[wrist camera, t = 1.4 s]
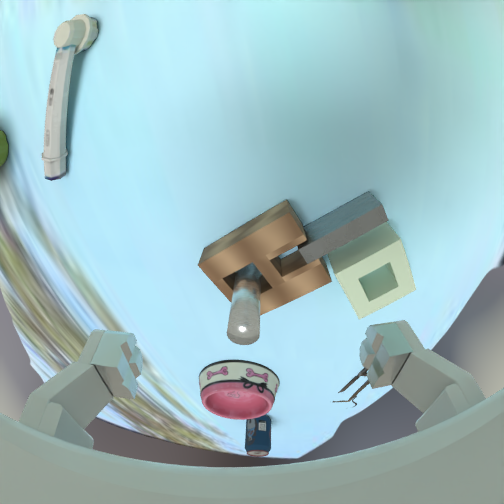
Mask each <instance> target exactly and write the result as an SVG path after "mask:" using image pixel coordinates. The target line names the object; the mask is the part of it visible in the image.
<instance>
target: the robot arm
mask: <svg viewBox="0 0 504 504" xmlns="http://www.w3.org/2000/svg"><path fill="white" fill-rule="evenodd" d="M365 334H366V336H367V338H366V339H365V340H364V341H362V343H361V346H360V360H361V363H362V365H363V366H364V367H365V368H367V369H368V372H367V377H368V380H369V382H370V384H371V387H372V389H373V388H379V387H383V386H388V385H392V387H394V388H395V389H396V390H397V391H398V392H399V393H400V394H402V395H403V396H404V397H405V398H406V399H408V400H409V401H410V402H411V403H412V404H413V405H414V406H416V407H417V408H418V409H419V410H420V411H422V412H423V413H424V414H423V415H422V416H421V417H420V418H419V419H418V420H417V422H416V423H415V425H416V428H417V430H418V432H417V433H414V434H412V435H409V436H406V437H404V438H401V439H398V440H395V441H392V442H389V443H386V444H383V445H379V446H376V447H372V448H369V449H365V450H361V451H358V452H354V453H349V454H345V455H341V456H336V457H331V458H325V459H320V460H314V461H308V462H301V463H293V464H285V465H276V466H275V465H274V466H261V467H238V468H237V467H236V468H235V467H232V468H225V467H224V468H221V467H195V466H182V465H172V464H163V463H155V462H149V461H142V460H137V459H131V458H126V457H121V456H117V455H112V454H108V453H104V452H100V451H96V450H93V449H92V448H93V443H94V440H93V438H92V437H91V436H90V435H89V434H88V433H87V432H86V431H85V430H84V428H85V427H86V426H87V425H88V424H89V423H90V422H91V421H92V420H93V419H94V418H95V417H96V416H97V415H98V414H99V412H100V411H101V410H102V409H103V408H104V407H105V406H106V405H107V404H108V403H109V402H110V401H111V400H112V399H113V397H120V398H129V399H135V395H136V391H137V387H138V383H137V381H136V378H137V377H138V376H139V375H140V374H141V371H142V362H143V360H142V354H141V351H140V349H139V348H138V347H136V346H135V344H136V341H137V340H136V338H135V336H134V334H133V333H126V332H117V331H108V330H107V331H106V330H98V329H95V330H93V331H92V332H91V334H90V336H89V338H88V340H87V342H86V344H85V347H84V349H83V351H82V353H81V355H80V357H79V359H78V362H73V363H71V364H70V365H69V366H67V367H66V368H65V369H63V370H62V371H60V372H59V373H58V374H56V375H55V376H54V377H52V378H51V379H50V380H48V381H47V382H45V383H44V384H43V385H41V386H40V387H39V388H37V389H36V390H35V391H33V392H32V393H31V394H30V396H29V398H28V400H27V403H26V405H25V407H24V410H23V412H22V415H21V417H20V420H19V422H18V421H16V420H13V419H11V418H10V417H8V416H6V415H4V414H2V413H0V504H504V388H503V389H501V390H500V391H498V392H496V393H495V394H493V395H492V396H490V397H488V398H487V399H486V398H485V396H484V394H483V393H482V391H481V389H480V387H479V386H478V384H477V382H476V381H475V379H474V378H473V376H472V375H471V374H470V373H468V372H466V371H465V370H463V369H461V368H460V367H458V366H456V365H455V364H453V363H451V362H450V361H448V360H446V359H444V358H443V357H441V356H439V355H438V354H436V353H434V352H432V351H431V350H429V349H425V348H424V347H423V345H422V344H421V342H420V341H419V339H418V337H417V336H416V334H415V333H414V331H413V330H412V328H411V327H410V325H409V324H408V322H407V321H405V320H401V321H395V322H389V323H383V324H376V325H370V326H369V327H368V328H367V330H366V333H365Z"/></svg>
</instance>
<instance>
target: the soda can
mask: <svg viewBox="0 0 504 504" xmlns="http://www.w3.org/2000/svg"><path fill="white" fill-rule="evenodd" d="M245 449H246V451H247V454H248V455H250V456H266V455H268V454H269V453H268V452H269V451H270V449H271V420H270V418H269V417H268V416H267V415H263V416H261V417H257V418H253V419H247V422H246V439H245Z"/></svg>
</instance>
